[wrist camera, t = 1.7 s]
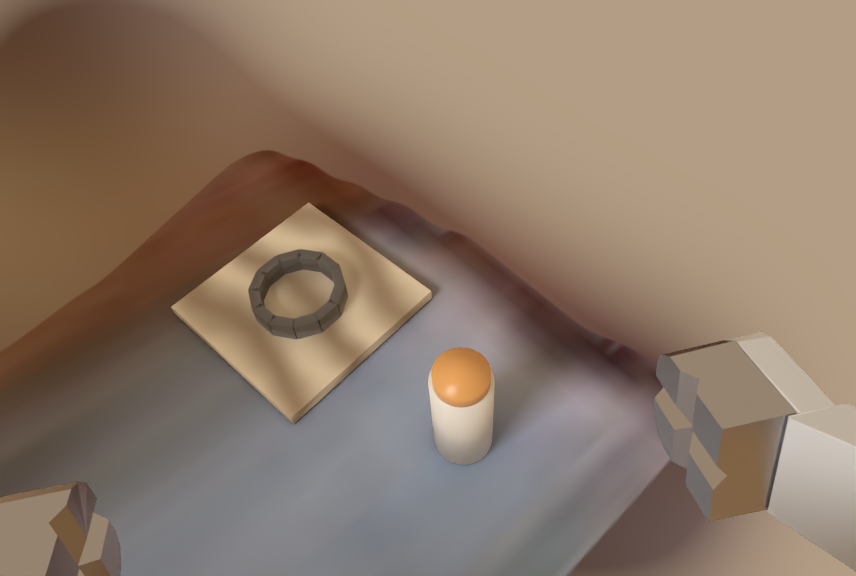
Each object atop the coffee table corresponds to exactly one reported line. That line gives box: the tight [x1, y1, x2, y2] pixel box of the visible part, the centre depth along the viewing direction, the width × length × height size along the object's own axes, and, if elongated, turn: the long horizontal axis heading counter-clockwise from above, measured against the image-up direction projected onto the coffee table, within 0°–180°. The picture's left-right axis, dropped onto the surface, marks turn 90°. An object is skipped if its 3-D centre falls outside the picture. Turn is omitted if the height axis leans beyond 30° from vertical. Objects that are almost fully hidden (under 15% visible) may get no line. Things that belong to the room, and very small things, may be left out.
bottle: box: [428, 348, 495, 465], centre depth 58 cm, size 5×5×11 cm
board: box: [171, 203, 432, 424], centre depth 71 cm, size 18×18×3 cm
